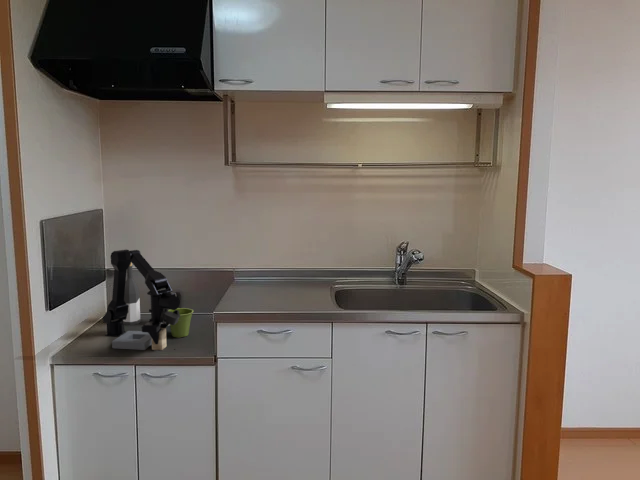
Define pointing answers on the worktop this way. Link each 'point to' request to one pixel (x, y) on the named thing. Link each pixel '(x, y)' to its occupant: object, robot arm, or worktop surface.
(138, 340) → the socket block
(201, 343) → the worktop surface
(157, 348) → the maple peg
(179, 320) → the plant pot
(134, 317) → the wine bottle
